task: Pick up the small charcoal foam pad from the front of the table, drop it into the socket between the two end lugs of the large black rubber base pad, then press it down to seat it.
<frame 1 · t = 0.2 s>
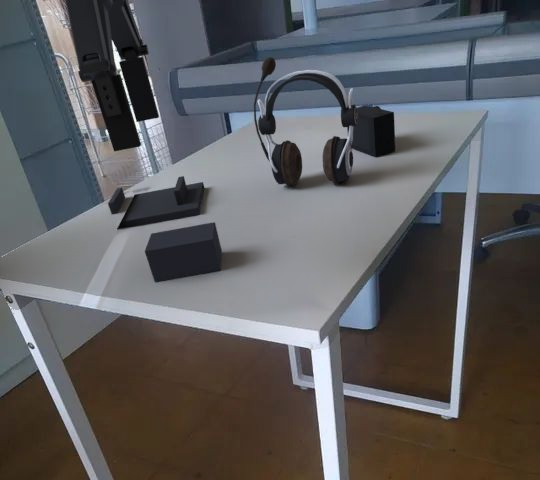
hand: (138, 132, 61), 19 cm above the table, tool pointing down, fingers open, 13 cm apart
headset: (314, 184, 94), on the table
foam pad: (189, 266, 75), on the table
base pad: (153, 209, 98), on the table
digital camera: (374, 149, 105), on the table
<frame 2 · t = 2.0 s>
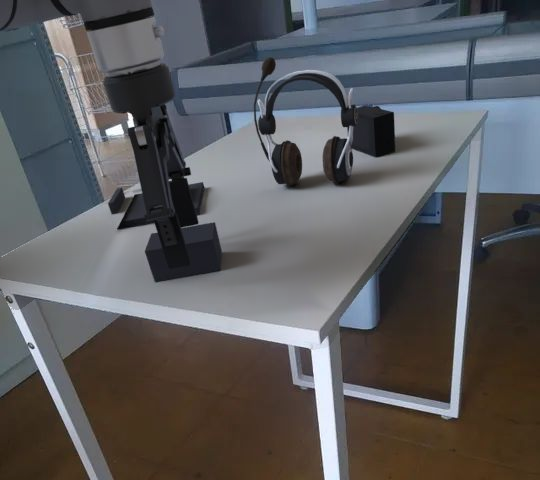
hand: (185, 244, 73), 3 cm above the table, tool pointing down, fingers open, 13 cm apart
nothing on the table moved.
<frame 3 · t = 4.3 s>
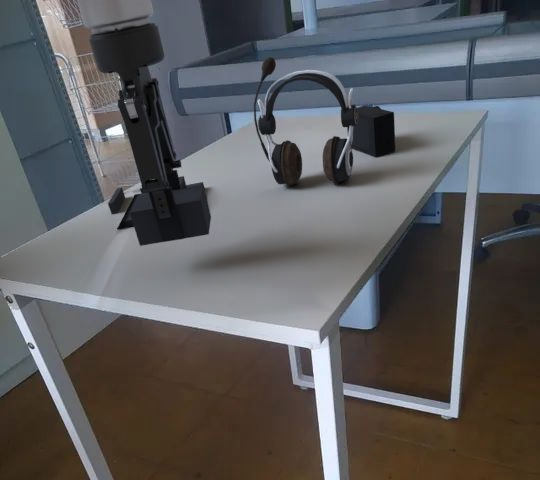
hand: (176, 228, 72), 6 cm above the table, tool pointing down, fingers closed on foam pad, 6 cm apart
foam pad: (176, 231, 72), point 5 cm above the table, touching gripper
everything else where it was.
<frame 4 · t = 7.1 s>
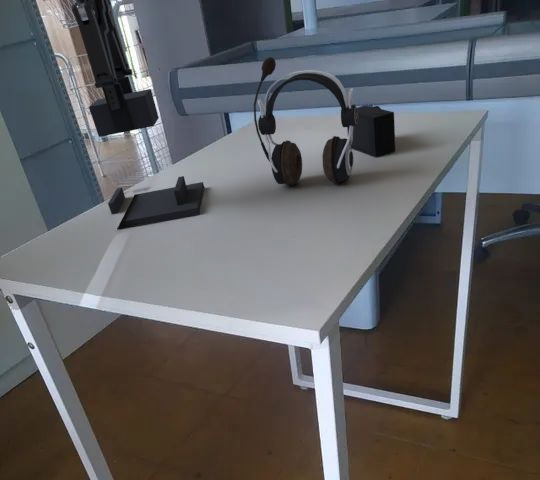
hand: (128, 125, 88), 15 cm above the table, tool pointing down, fingers closed on foam pad, 6 cm apart
foam pad: (129, 127, 88), point 14 cm above the table, touching gripper
everything else where it was.
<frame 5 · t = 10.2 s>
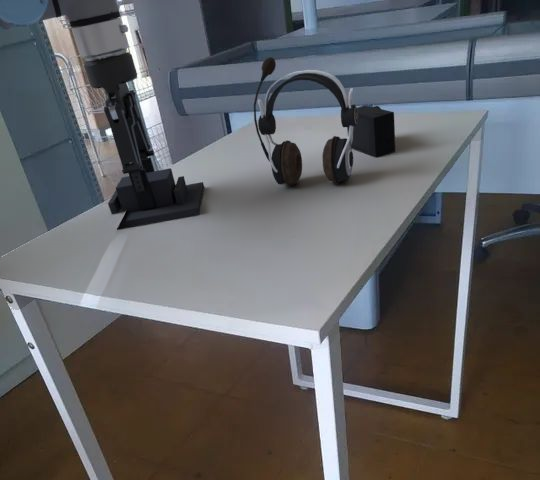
hand: (151, 201, 97), 1 cm above the table, tool pointing down, fingers closed on foam pad, 6 cm apart
foam pad: (151, 202, 97), point 1 cm above the table, touching base pad, gripper
everything else where it was.
when the fingers open (1 cm above the table, at t = 10.2 s): foam pad stays where it is, resting on base pad.
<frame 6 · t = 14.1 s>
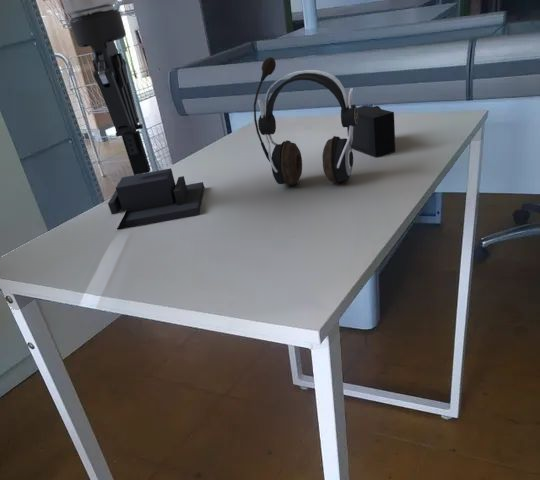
hand: (142, 172, 94), 7 cm above the table, tool pointing down, fingers closed
foam pad: (151, 202, 97), point 1 cm above the table, touching base pad
everything else where it was.
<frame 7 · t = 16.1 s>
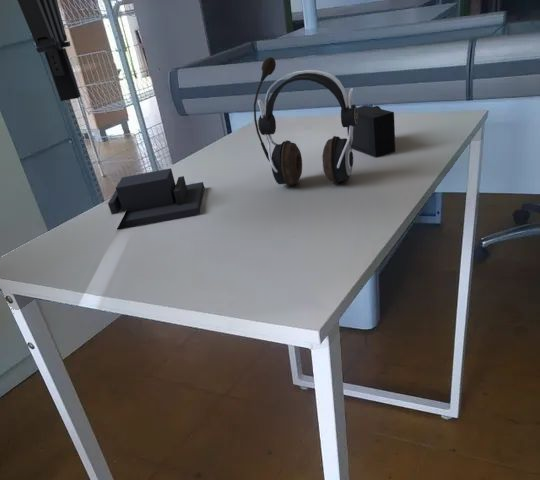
hand: (70, 98, 83), 20 cm above the table, tool pointing down, fingers closed
nothing on the table moved.
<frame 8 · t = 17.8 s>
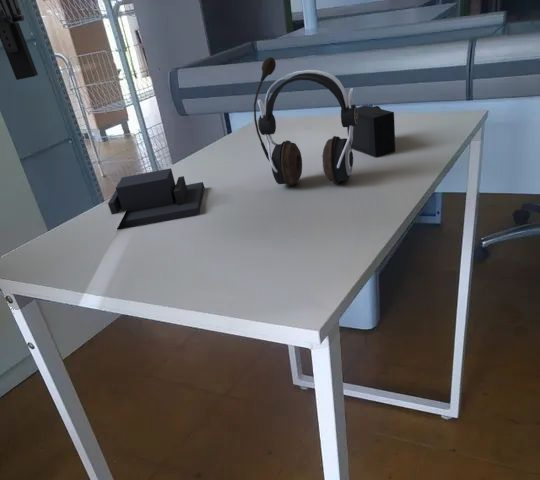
hand: (27, 77, 78), 24 cm above the table, tool pointing down, fingers closed
nothing on the table moved.
at the end: foam pad 0.1 cm off-centre on the base pad, point 1.2 cm above the base pad's base; foam pad tilted 0°; the gripper is holding nothing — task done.
